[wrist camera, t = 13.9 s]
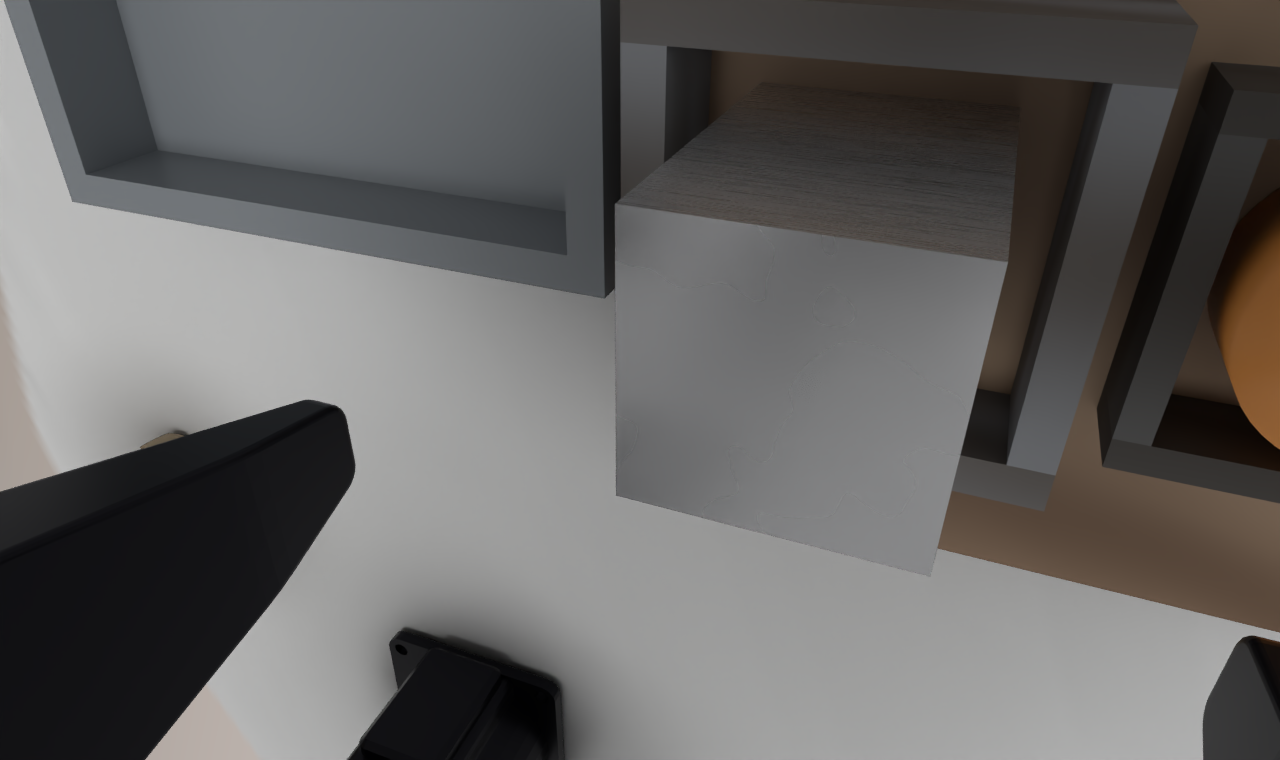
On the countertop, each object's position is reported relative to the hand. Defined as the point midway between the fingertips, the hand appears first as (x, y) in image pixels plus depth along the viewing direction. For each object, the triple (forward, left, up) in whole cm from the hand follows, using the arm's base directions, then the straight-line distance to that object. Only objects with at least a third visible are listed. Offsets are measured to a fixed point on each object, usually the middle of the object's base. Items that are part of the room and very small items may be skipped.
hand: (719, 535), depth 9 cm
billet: (0, 0, -10) cm, 10 cm away
